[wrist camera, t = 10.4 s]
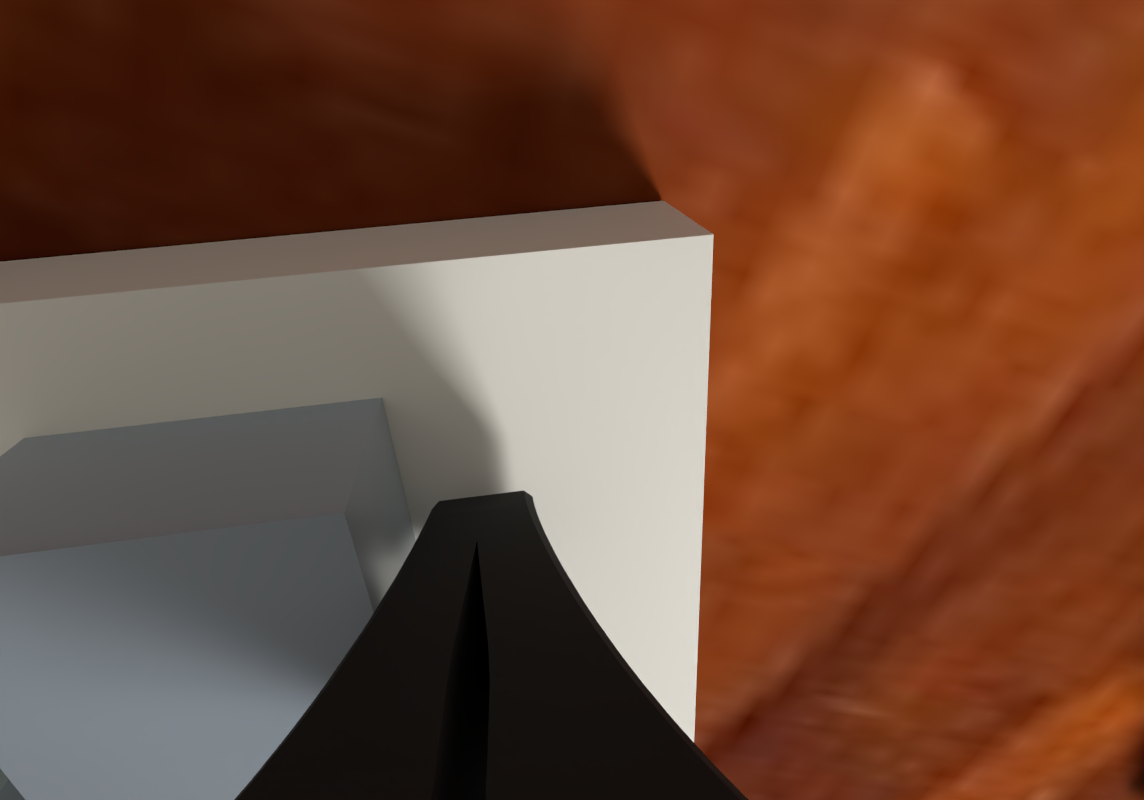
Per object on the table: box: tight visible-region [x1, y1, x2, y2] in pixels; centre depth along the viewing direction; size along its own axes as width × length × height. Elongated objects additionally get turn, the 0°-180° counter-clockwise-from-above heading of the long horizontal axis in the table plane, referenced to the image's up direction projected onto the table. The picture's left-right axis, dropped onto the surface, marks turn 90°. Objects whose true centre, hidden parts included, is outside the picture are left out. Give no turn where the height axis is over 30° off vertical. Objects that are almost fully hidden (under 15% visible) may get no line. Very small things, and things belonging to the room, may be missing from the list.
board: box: [0, 201, 713, 742], centre depth 12 cm, size 16×12×2 cm
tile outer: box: [0, 398, 416, 800], centre depth 8 cm, size 4×4×2 cm
